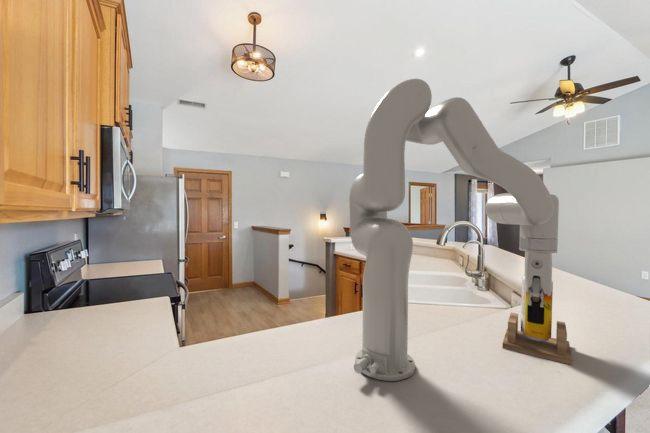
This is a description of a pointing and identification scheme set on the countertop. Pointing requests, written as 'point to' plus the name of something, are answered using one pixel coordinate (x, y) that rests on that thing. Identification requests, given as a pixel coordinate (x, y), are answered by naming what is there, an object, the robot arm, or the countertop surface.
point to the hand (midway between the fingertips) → (535, 318)
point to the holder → (538, 342)
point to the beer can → (534, 329)
